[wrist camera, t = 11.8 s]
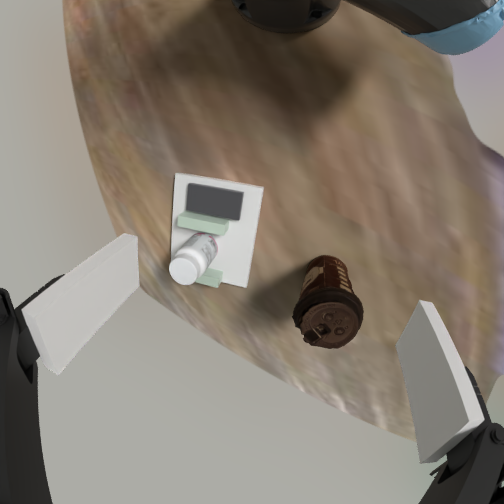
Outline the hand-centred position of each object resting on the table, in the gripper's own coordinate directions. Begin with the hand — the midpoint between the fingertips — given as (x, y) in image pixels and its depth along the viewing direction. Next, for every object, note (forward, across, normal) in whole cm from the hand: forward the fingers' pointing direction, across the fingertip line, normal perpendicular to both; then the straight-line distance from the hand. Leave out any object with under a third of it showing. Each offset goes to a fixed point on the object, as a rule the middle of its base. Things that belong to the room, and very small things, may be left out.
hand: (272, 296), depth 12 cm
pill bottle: (+28, -12, -12) cm, 33 cm away
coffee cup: (+29, +7, -13) cm, 32 cm away
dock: (+29, -11, -10) cm, 32 cm away
